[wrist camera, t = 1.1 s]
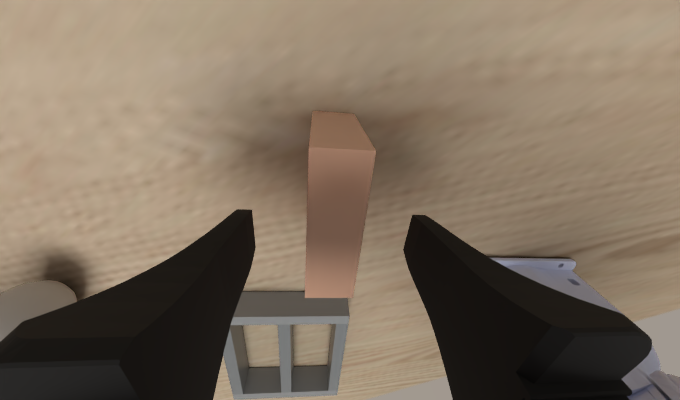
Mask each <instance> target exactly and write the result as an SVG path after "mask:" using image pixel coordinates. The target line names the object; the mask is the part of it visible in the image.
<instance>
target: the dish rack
mask: <svg viewBox="0 0 680 400" xmlns="http://www.w3.org/2000/svg"><path fill="white" fill-rule="evenodd" d="M348 322H349V308H348V300H347V298H305V292H242V294H241V296H240V299H239V302H238V305H237V307H236V310H235V313H234V316H233V319H232V322H231V325H230V329H229V333H228V337H227V341H226V345H225V349H224V353H223V356H224V360H225V364H226V368H227V372H228V377H229V381H230V385H231V389H232V393H233V398H234V399H258V398H282V397H306V396H330V395H337V392H338V385H339V379H340V373H341V366H342V360H343V354H344V347H345V341H346V335H347V328H348ZM295 324H332V329H331V338H330V347H329V356H328V365H327V366H297V367H293V325H295ZM242 325H278V338H279V357H280V367H263V368H249V365H248V359H247V353H246V347H245V340H244V334H243V328H242Z"/></svg>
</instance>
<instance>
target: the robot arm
mask: <svg viewBox="0 0 680 400" xmlns="http://www.w3.org/2000/svg"><path fill="white" fill-rule="evenodd" d="M403 250H404V254H405V258H406V262H407V265H408V268H409V271H410V273H411V276H412V278H413V280H414V283H415V285H416V287H417V290H418V292H419V294H420V297H421V299H422V301H423V303H424V306H425V308H426V310H427V313H428V315H429V318H430V321H431V324H432V327H433V330H434V333H435V336H436V339H437V343H438V346H439V349H440V353H441V356H442V360H443V363H444V367H445V371H446V374H447V378H448V382H449V386H450V390H451V394H452V397H453V400H680V377H677V376H674V375H670V374H665V373H664V372H662V371H660V370H661V369H660V362H659V358H658V356H657V353H656V352H655V349H654V348H653V346H652V340H651V339H650V337H649V336H648V335H647V334H646V333H645V332H643V331H642V330H641V329H640V328H639V327H638V326H636V325H635V324H634V323H633V322H632V321H631V320H629V319H628V318H627V317H626V316H625V315H624V314H622V313H621V312H620V311H619V310H618V309H617V308H615V307H614V306H613V305H612V304H611V303H609V302H608V301H607V300H606V299H605V298H604V297H602V296H601V295H600V294H599V293H598V292H597V291H595V290H594V289H593V288H592V287H591V286H590V285H588V284H587V283H586V282H585V281H584V280H582V279H581V278H580V277H579V276H578V275H577V274H575V273H574V272H573V271H572V270H573V269H574V268H575V266H576V262H575V261H574V260H573V259H543V258H489V257H487V256H486V255H484V254H482V253H481V252H479V251H478V250H476V249H474V248H473V247H471V246H470V245H468V244H467V243H465V242H464V241H462V240H461V239H459V238H458V237H456V236H455V235H454V234H452V233H451V232H449V231H448V230H447V229H445V228H444V227H442V226H441V225H439V224H438V223H437V222H435V221H434V220H432V219H431V218H429V217H427V216H426V215H412V219H411V222H410V226H409V230H408V234H407V237H406V241H405V245H404V249H403ZM254 252H255V237H254V227H253V217H252V210H239V209H237V210H236V211H234V212H233V213H232V214H231V215H229V216H228V217H227V218H226V219H224V220H223V221H222V222H221V223H219V224H218V225H217V226H216V227H214V228H213V229H212V230H210V231H209V232H208V233H206V234H205V235H204V236H202V237H201V238H199V239H198V240H197V241H195V242H194V243H192V244H191V245H189V246H188V247H187V248H185V249H184V250H182V251H180V252H179V253H177V254H176V255H174V256H172V257H171V258H169V259H167V260H165V261H164V262H162V263H160V264H159V265H157V266H155V267H153V268H151V269H149V270H147V271H145V272H143V273H141V274H139V275H137V276H135V277H133V278H131V279H129V280H127V281H125V282H123V283H121V284H118V285H116V286H114V287H112V288H109V289H107V290H105V291H102V292H100V293H98V294H95V295H93V296H90V297H88V298H86V299H83V300H80V301H78V302H75V303H73V304H70V305H67V306H64V307H62V308H59V309H56V310H53V311H51V312H48V313H45V314H42V315H40V316H37V317H34V318H31V319H28V320H25V321H23V322H21V323H20V324H19V325H18V326H17V327H16V328H15V329H14V330H13V331H11V332H10V333H9V334H8V335H7V336H6V337H5V338H4V339H3V340H2V341H0V400H213V397H214V392H215V388H216V383H217V379H218V374H219V370H220V366H221V362H222V357H223V353H224V349H225V345H226V341H227V337H228V333H229V329H230V325H231V322H232V319H233V316H234V313H235V310H236V307H237V305H238V302H239V299H240V296H241V294H242V291H243V288H244V286H245V283H246V280H247V277H248V275H249V272H250V269H251V265H252V261H253V257H254Z"/></svg>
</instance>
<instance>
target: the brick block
mask: <svg viewBox="0 0 680 400" xmlns="http://www.w3.org/2000/svg"><path fill="white" fill-rule="evenodd" d="M375 156H376V150H375V148H374V146H373V145H372V143H371V141H370V140H369V138H368V136H367V135H366V133H365V131H364V130H363V128H362V126H361V125H360V123H359V121H358V120H357V118H356V116H355V115H354V114H351V113H338V112H324V111H313V112H312V122H311V131H310V140H309V158H308V197H307V235H306V274H305V298H353V294H354V288H355V282H356V275H357V269H358V263H359V257H360V250H361V244H362V238H363V231H364V225H365V219H366V213H367V206H368V200H369V194H370V187H371V181H372V175H373V169H374V162H375Z"/></svg>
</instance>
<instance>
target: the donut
mask: <svg viewBox="0 0 680 400" xmlns="http://www.w3.org/2000/svg"><path fill="white" fill-rule="evenodd" d="M75 302H77V298H76V295H75V293H74V292H73V291H72V290H71V289H70V288H69V287H68V286H66V285H65V284H63V283H61V282H58V281H52V280H44V281H36V282H30V283H24V284H21V285H18V286H16V287H13V288H11V289H9V290H7V291H5V292H3V293H1V294H0V341H2V340H3V339H4V338H5V337H6V336H7V335H8V334H9V333H10V332H11V331H13V330H14V329H15V328H16V327H17V326H18V325H19V324H20V323H21V322H23V321H25V320H28V319H31V318H34V317H37V316H40V315H42V314H45V313H48V312H51V311H53V310H56V309H59V308H62V307H64V306H67V305H70V304H73V303H75Z"/></svg>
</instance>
